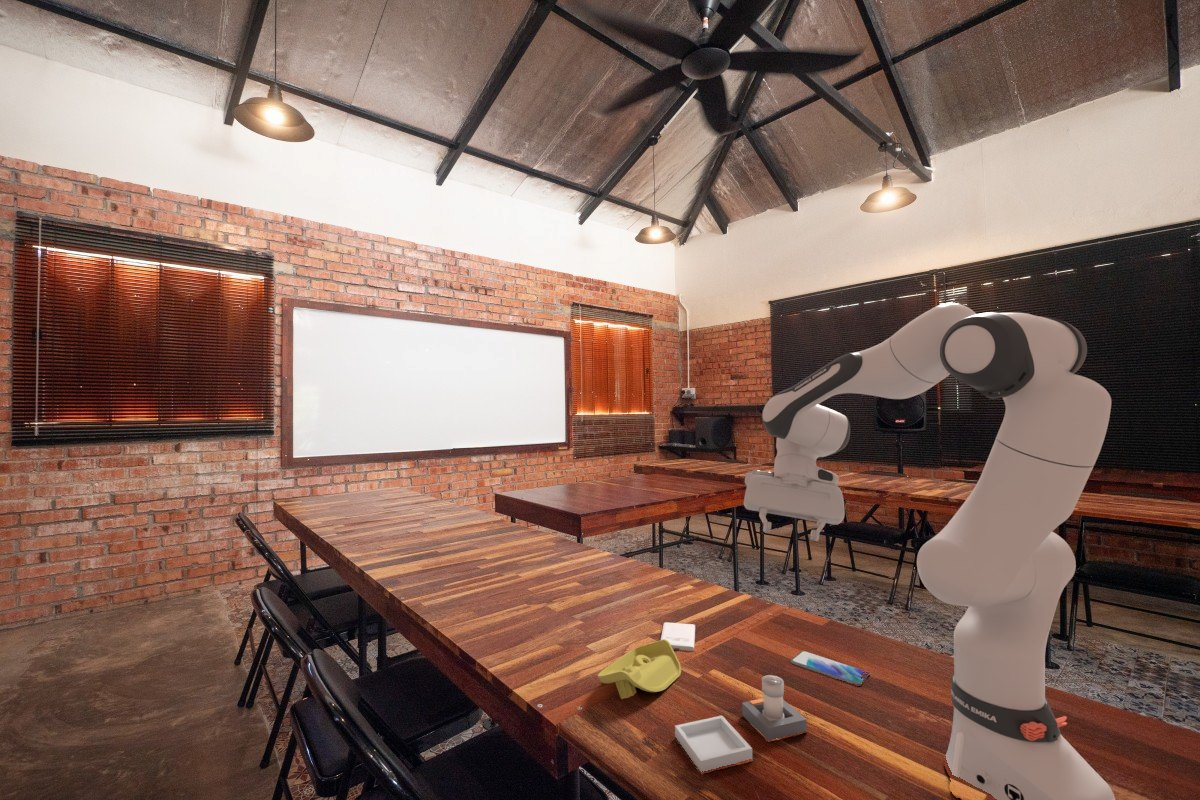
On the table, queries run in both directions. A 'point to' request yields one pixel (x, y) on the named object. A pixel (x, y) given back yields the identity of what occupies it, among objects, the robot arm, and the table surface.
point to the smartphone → (828, 667)
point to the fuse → (773, 697)
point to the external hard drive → (679, 635)
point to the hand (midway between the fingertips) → (790, 535)
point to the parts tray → (712, 743)
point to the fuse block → (777, 728)
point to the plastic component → (643, 669)
